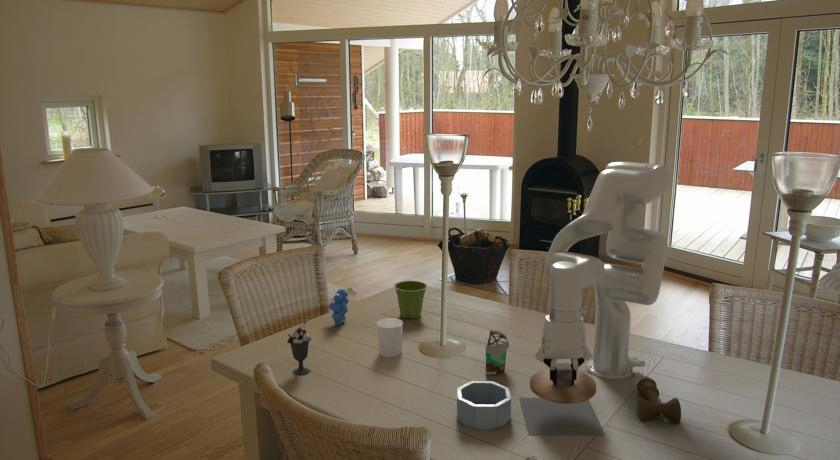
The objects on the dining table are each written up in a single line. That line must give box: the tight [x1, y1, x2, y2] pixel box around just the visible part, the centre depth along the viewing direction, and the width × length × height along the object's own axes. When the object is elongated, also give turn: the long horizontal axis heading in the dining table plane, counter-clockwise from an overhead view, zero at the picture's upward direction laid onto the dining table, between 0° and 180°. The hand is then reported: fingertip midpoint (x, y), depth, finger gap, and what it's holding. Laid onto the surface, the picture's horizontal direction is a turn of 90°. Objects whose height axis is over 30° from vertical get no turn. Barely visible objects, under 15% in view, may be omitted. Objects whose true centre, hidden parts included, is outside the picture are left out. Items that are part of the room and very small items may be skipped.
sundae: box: [287, 321, 312, 377], centre depth 183 cm, size 7×7×15 cm
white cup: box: [376, 317, 404, 358], centre depth 196 cm, size 8×8×10 cm
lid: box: [529, 362, 597, 404], centre depth 157 cm, size 16×16×6 cm
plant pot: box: [393, 280, 428, 320], centre depth 227 cm, size 12×12×11 cm
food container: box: [485, 329, 510, 377], centre depth 183 cm, size 12×6×10 cm, turn 168°
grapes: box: [328, 288, 350, 326], centre depth 221 cm, size 12×7×12 cm, turn 167°
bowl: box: [456, 380, 512, 430], centre depth 158 cm, size 13×13×6 cm
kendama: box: [636, 377, 682, 424], centre depth 160 cm, size 6×10×20 cm
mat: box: [519, 397, 606, 437], centre depth 159 cm, size 18×18×1 cm
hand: (562, 381), depth 157 cm, fingers closed on lid, 3 cm apart
